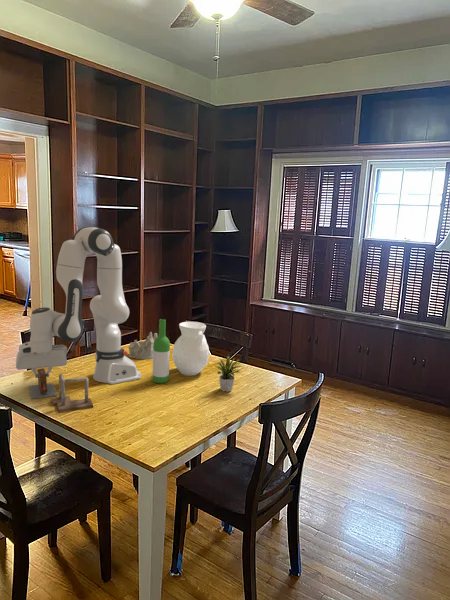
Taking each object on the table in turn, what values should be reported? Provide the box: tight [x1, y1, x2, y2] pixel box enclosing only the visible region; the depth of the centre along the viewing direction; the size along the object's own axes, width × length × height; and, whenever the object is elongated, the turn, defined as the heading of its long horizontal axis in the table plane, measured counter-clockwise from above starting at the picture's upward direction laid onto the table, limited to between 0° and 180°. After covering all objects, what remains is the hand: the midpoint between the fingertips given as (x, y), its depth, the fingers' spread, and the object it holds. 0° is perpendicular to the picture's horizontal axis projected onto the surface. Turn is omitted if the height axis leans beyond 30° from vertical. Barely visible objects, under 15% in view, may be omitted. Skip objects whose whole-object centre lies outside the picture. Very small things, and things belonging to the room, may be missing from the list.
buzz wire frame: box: [51, 373, 94, 413], centre depth 183 cm, size 14×12×12 cm
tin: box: [37, 368, 48, 394], centre depth 193 cm, size 15×3×8 cm, turn 26°
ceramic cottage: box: [128, 331, 158, 360], centre depth 251 cm, size 16×16×15 cm
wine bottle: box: [152, 318, 171, 384], centre depth 212 cm, size 8×8×30 cm
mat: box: [28, 382, 58, 400], centre depth 195 cm, size 10×14×1 cm
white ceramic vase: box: [171, 321, 210, 376], centre depth 226 cm, size 19×18×25 cm
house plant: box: [214, 355, 244, 393], centre depth 205 cm, size 14×14×16 cm
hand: (41, 376), depth 193 cm, fingers closed on tin, 3 cm apart
